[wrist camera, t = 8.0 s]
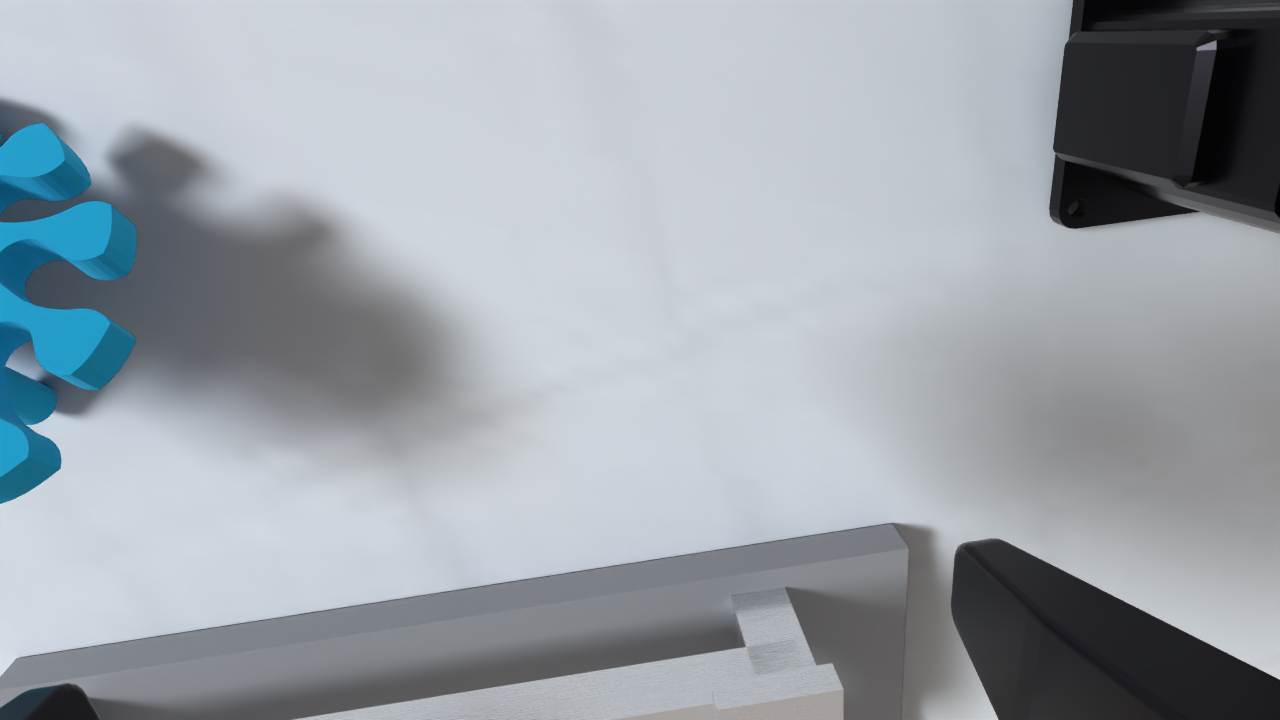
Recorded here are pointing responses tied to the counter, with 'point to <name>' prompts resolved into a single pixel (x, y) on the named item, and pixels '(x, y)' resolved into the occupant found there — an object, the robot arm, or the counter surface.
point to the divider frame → (664, 683)
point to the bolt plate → (509, 637)
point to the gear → (63, 339)
